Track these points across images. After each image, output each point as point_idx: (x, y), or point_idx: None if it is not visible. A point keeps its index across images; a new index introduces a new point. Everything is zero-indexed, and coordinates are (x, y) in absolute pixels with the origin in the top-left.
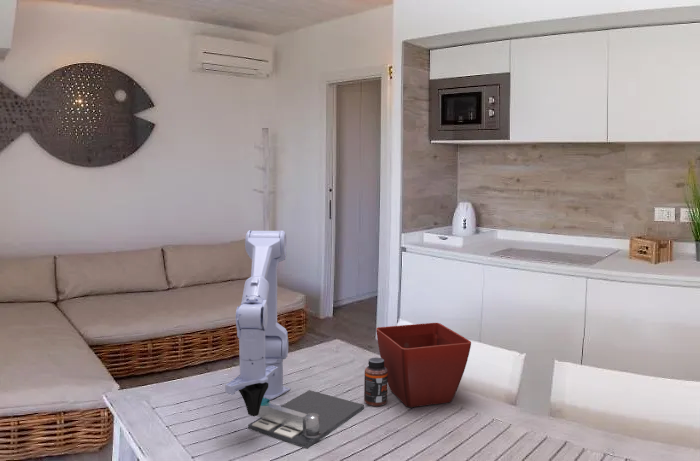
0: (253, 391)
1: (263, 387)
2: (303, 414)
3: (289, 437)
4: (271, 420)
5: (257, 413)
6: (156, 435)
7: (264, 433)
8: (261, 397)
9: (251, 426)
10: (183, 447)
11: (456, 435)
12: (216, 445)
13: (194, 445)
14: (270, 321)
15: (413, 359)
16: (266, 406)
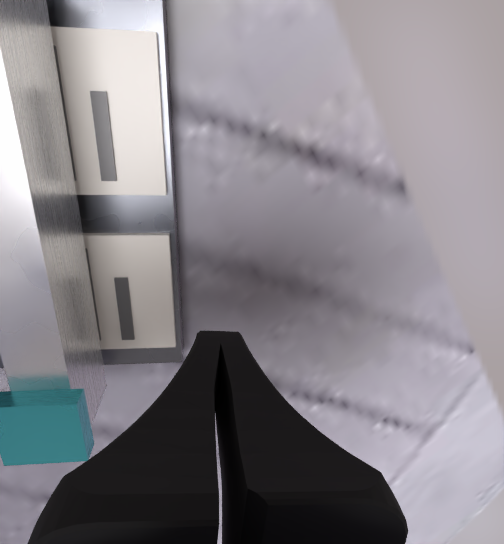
0: (398, 510)
1: (195, 506)
2: None
3: (158, 53)
4: (88, 282)
5: (214, 335)
6: None
7: (177, 252)
8: (182, 409)
9: (181, 340)
10: (439, 427)
11: None
12: (378, 351)
13: (412, 410)
14: None
15: None
16: (65, 367)
